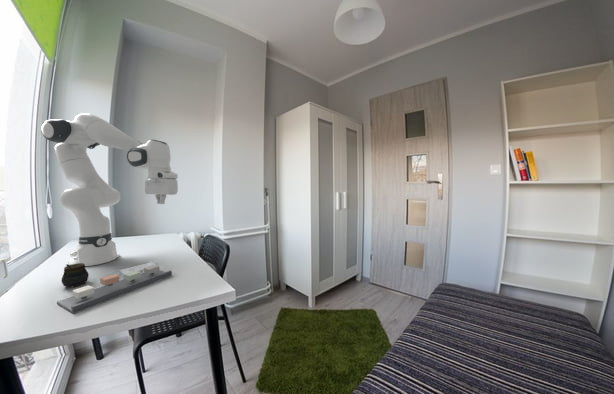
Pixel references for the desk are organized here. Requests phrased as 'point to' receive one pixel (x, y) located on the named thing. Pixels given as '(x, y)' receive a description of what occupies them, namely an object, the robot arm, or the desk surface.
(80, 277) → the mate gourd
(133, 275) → the key
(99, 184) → the robot arm
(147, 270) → the key
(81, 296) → the key
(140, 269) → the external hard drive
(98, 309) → the desk surface
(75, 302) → the base
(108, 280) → the key
